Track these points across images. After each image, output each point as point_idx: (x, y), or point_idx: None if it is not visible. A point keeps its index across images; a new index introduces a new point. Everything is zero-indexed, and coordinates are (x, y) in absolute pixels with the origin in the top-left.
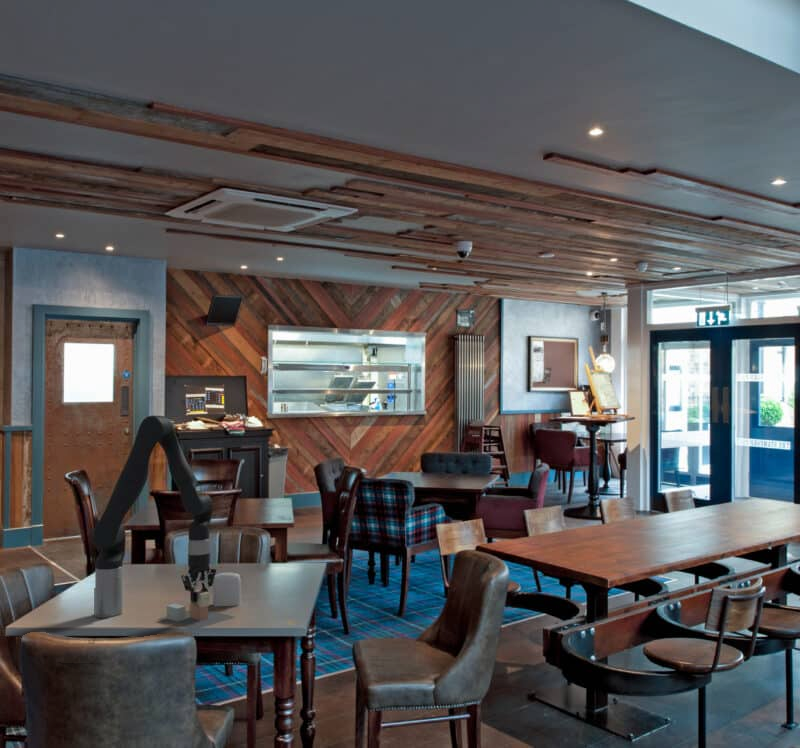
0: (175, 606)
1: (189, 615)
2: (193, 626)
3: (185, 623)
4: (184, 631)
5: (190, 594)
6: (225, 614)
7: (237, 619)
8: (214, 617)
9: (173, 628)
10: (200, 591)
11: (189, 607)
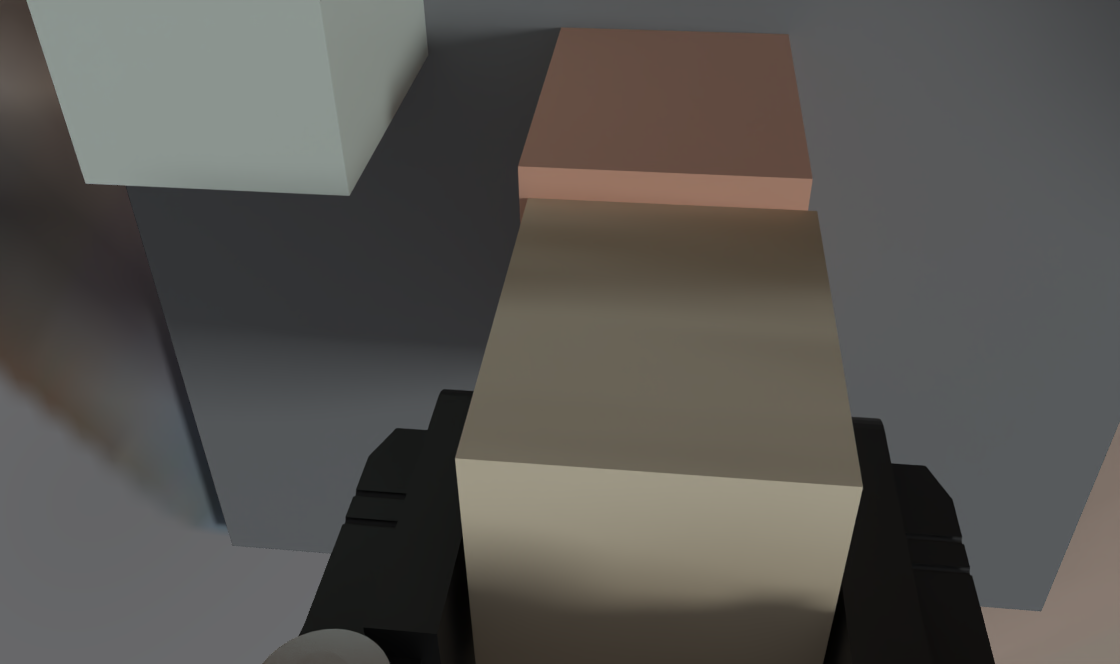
0: None
1: (555, 50)
2: (293, 460)
3: (280, 262)
4: (133, 435)
5: (475, 394)
6: (1113, 427)
7: (1012, 620)
8: (849, 401)
9: (50, 213)
10: (735, 650)
11: (531, 131)
